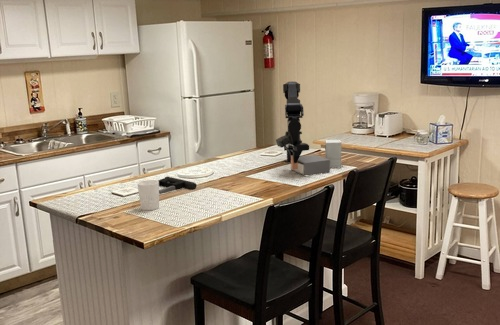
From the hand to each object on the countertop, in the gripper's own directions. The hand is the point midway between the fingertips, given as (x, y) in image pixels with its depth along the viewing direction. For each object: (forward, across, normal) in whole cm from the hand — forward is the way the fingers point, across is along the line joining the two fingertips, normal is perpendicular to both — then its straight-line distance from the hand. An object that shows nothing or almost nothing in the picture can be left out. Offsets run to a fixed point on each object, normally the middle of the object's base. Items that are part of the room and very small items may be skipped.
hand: (294, 162), depth 242 cm
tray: (+4, 0, +6) cm, 8 cm away
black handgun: (+6, -3, -59) cm, 59 cm away
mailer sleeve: (+5, 0, +8) cm, 10 cm away
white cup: (+5, +21, -72) cm, 75 cm away
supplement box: (+5, -3, +23) cm, 24 cm away
